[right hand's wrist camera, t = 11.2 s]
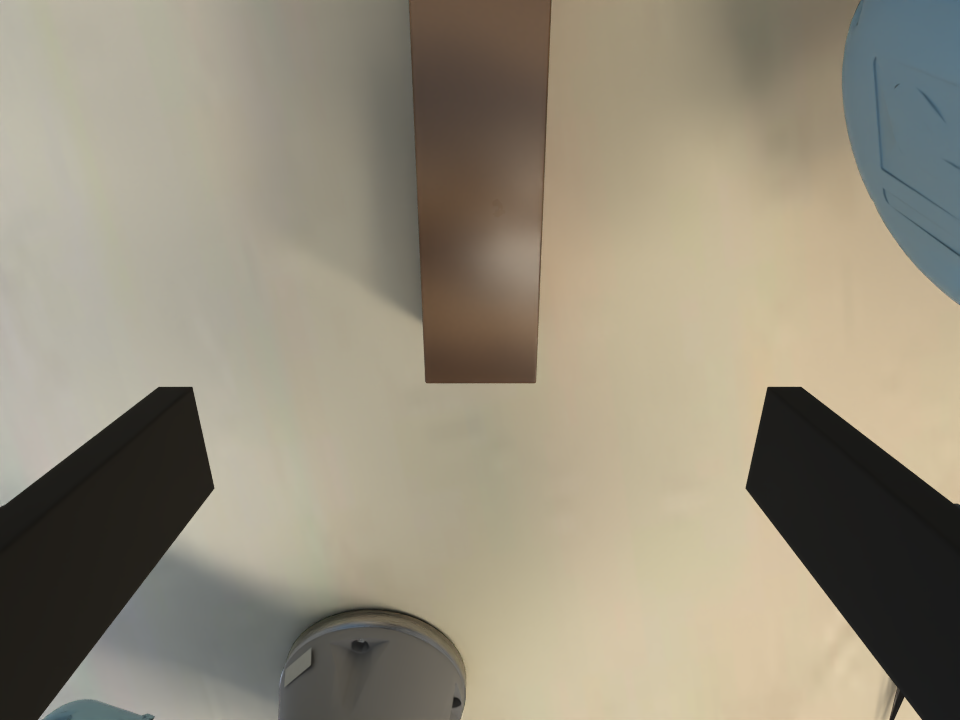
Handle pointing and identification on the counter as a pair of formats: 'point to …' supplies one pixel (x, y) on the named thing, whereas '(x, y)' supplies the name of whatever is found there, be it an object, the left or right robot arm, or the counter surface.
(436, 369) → the bar
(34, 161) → the counter surface
